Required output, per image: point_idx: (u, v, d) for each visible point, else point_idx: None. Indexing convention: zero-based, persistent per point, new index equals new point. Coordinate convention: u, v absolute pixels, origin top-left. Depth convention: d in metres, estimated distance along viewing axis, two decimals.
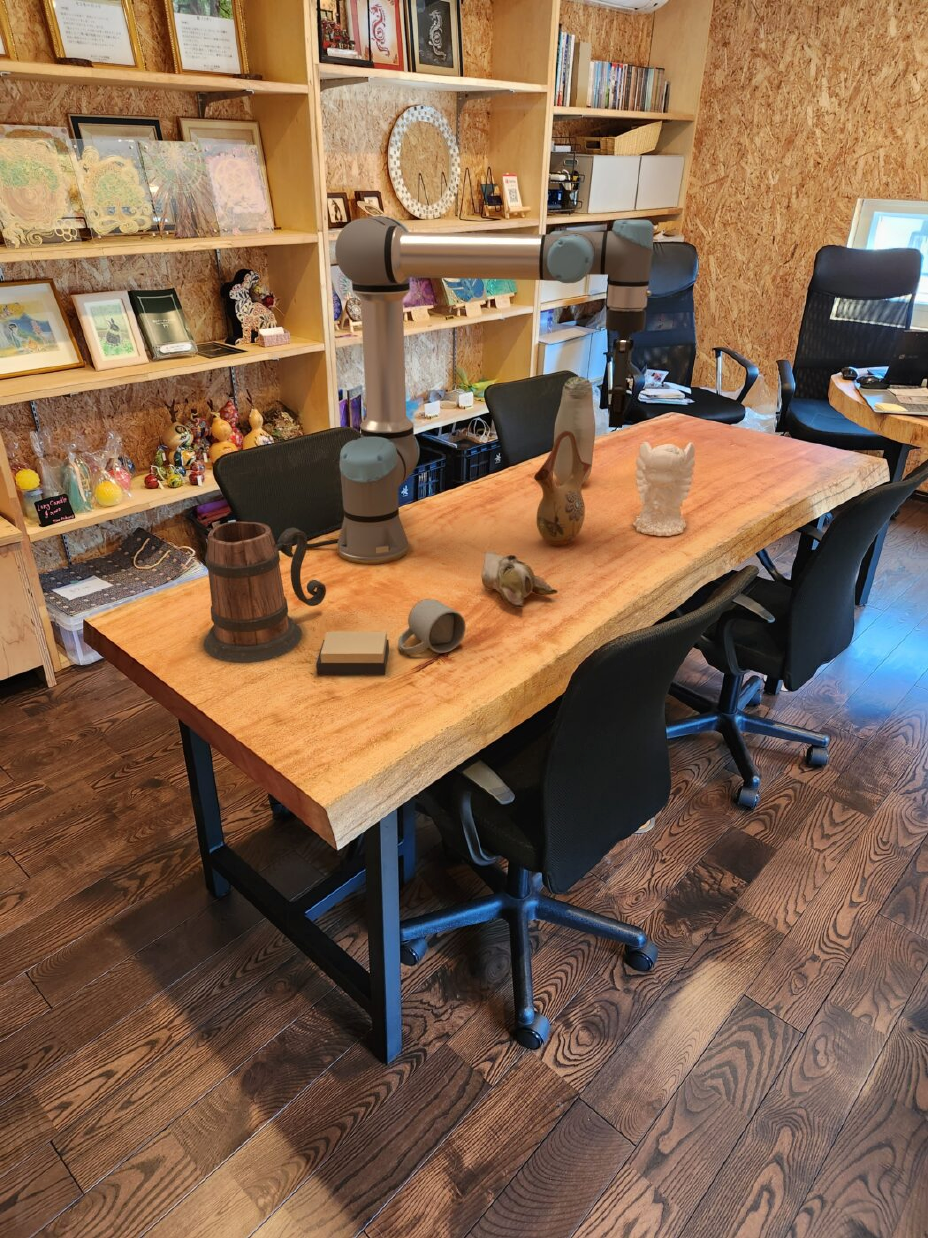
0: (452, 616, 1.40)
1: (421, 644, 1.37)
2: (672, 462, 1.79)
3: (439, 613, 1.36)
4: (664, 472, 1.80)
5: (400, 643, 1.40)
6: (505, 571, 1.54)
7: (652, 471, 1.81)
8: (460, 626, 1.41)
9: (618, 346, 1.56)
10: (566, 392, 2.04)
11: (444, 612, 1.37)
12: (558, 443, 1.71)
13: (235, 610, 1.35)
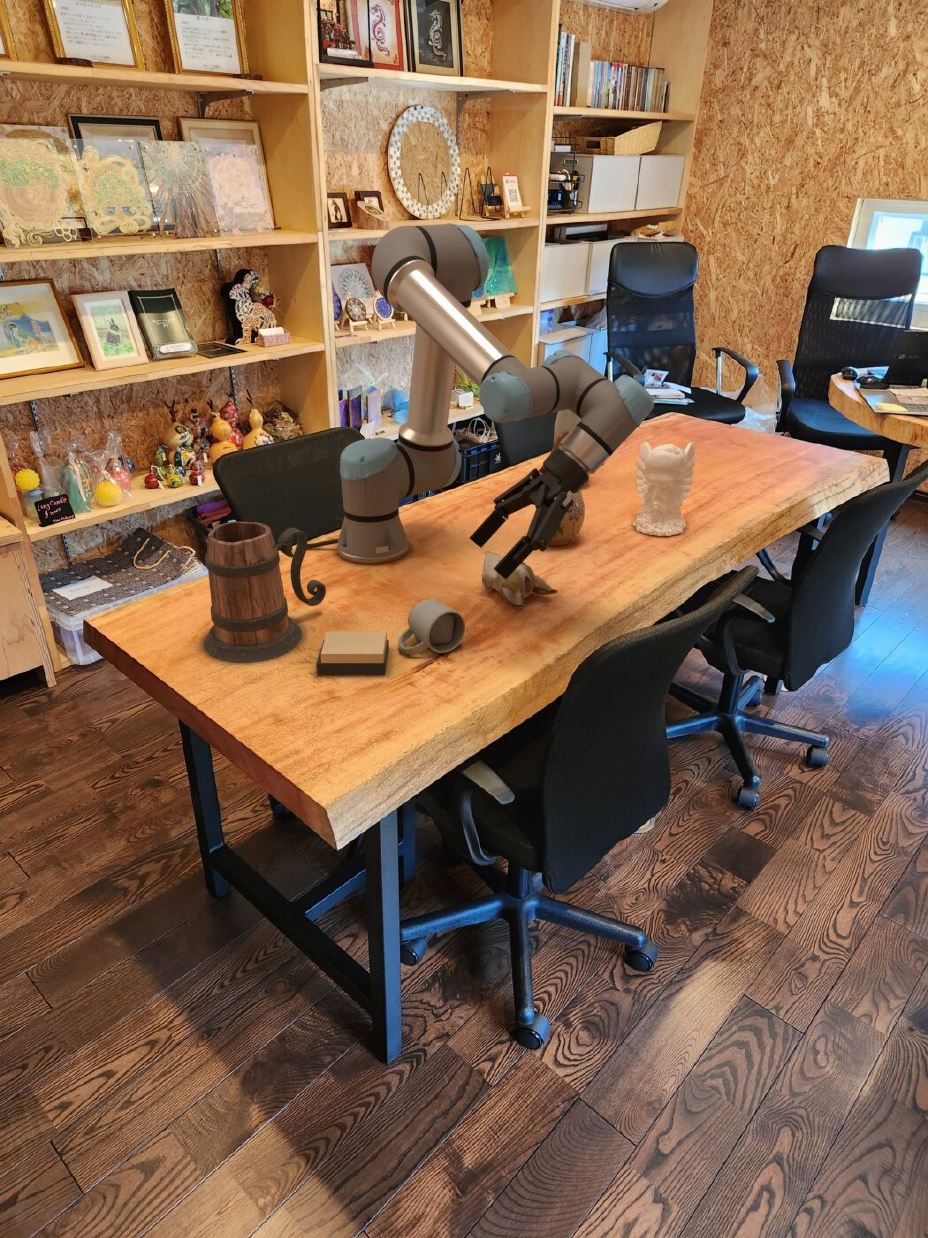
0: (452, 616, 1.40)
1: (421, 644, 1.37)
2: (672, 462, 1.79)
3: (439, 613, 1.36)
4: (664, 472, 1.80)
5: (400, 643, 1.40)
6: None
7: (652, 471, 1.81)
8: (460, 626, 1.41)
9: (563, 499, 1.29)
10: None
11: (444, 612, 1.37)
12: (558, 443, 1.71)
13: (235, 610, 1.35)
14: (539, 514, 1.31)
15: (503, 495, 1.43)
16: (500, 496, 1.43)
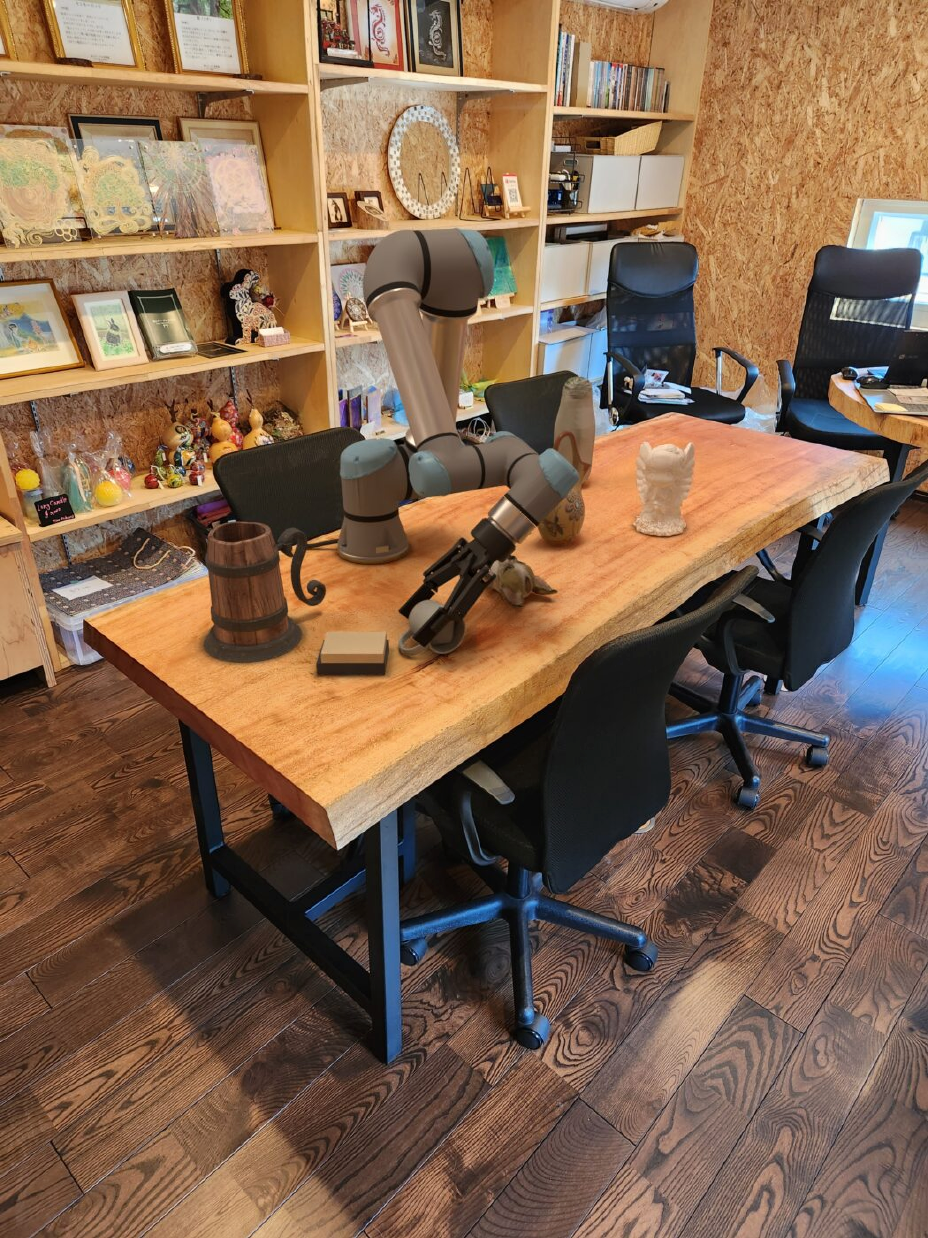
0: None
1: None
2: (672, 462, 1.79)
3: None
4: (664, 472, 1.80)
5: (400, 644, 1.40)
6: (505, 571, 1.54)
7: (652, 471, 1.81)
8: (460, 627, 1.41)
9: (484, 574, 1.31)
10: (566, 392, 2.04)
11: None
12: (558, 443, 1.71)
13: (235, 610, 1.35)
14: (460, 585, 1.34)
15: (432, 567, 1.43)
16: (429, 568, 1.44)
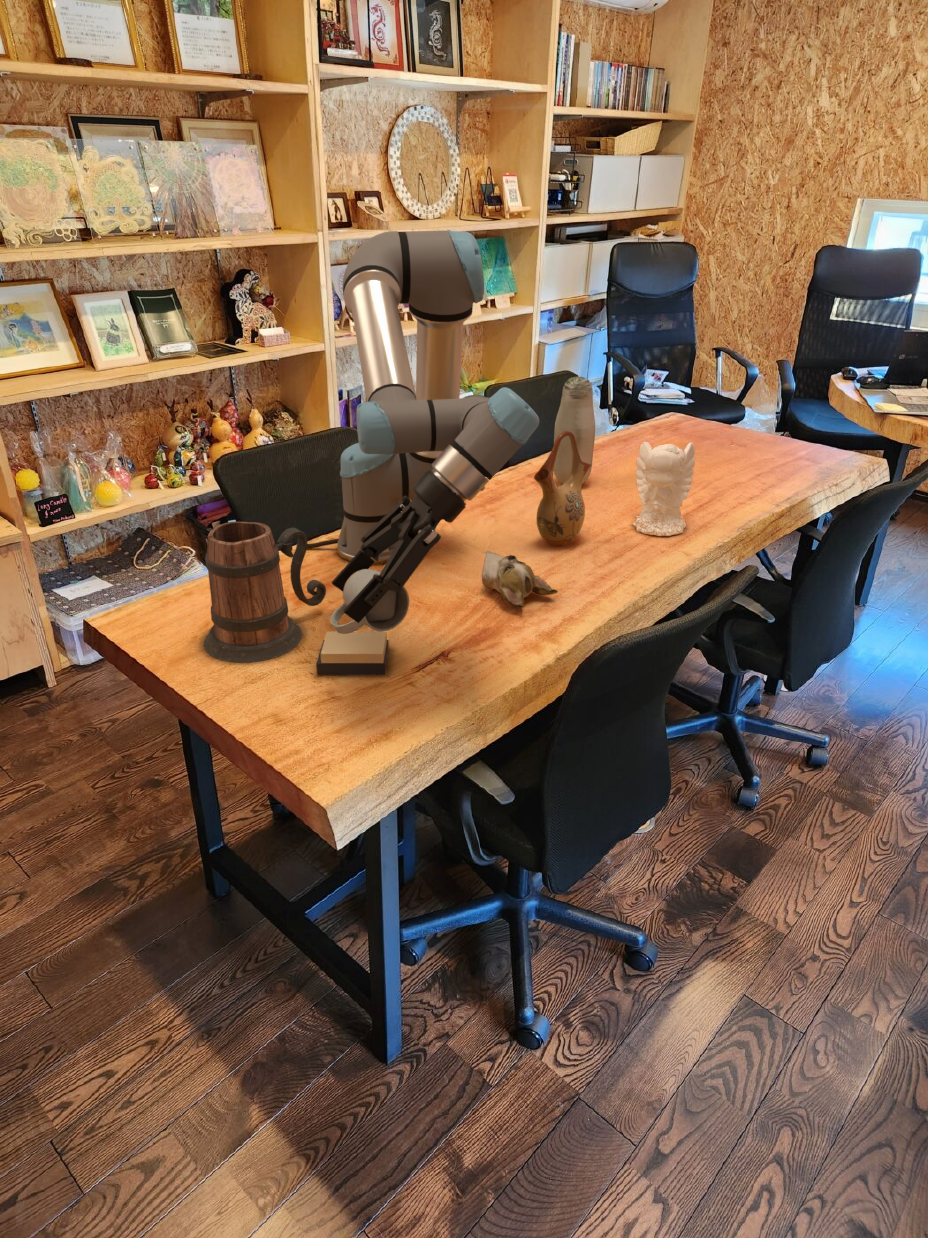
0: None
1: None
2: (672, 462, 1.79)
3: None
4: (664, 472, 1.80)
5: (333, 620, 1.19)
6: (505, 571, 1.54)
7: (652, 471, 1.81)
8: (403, 600, 1.20)
9: (426, 535, 1.11)
10: (566, 392, 2.04)
11: None
12: (558, 443, 1.71)
13: (235, 610, 1.35)
14: (399, 549, 1.14)
15: (371, 531, 1.23)
16: (368, 533, 1.24)
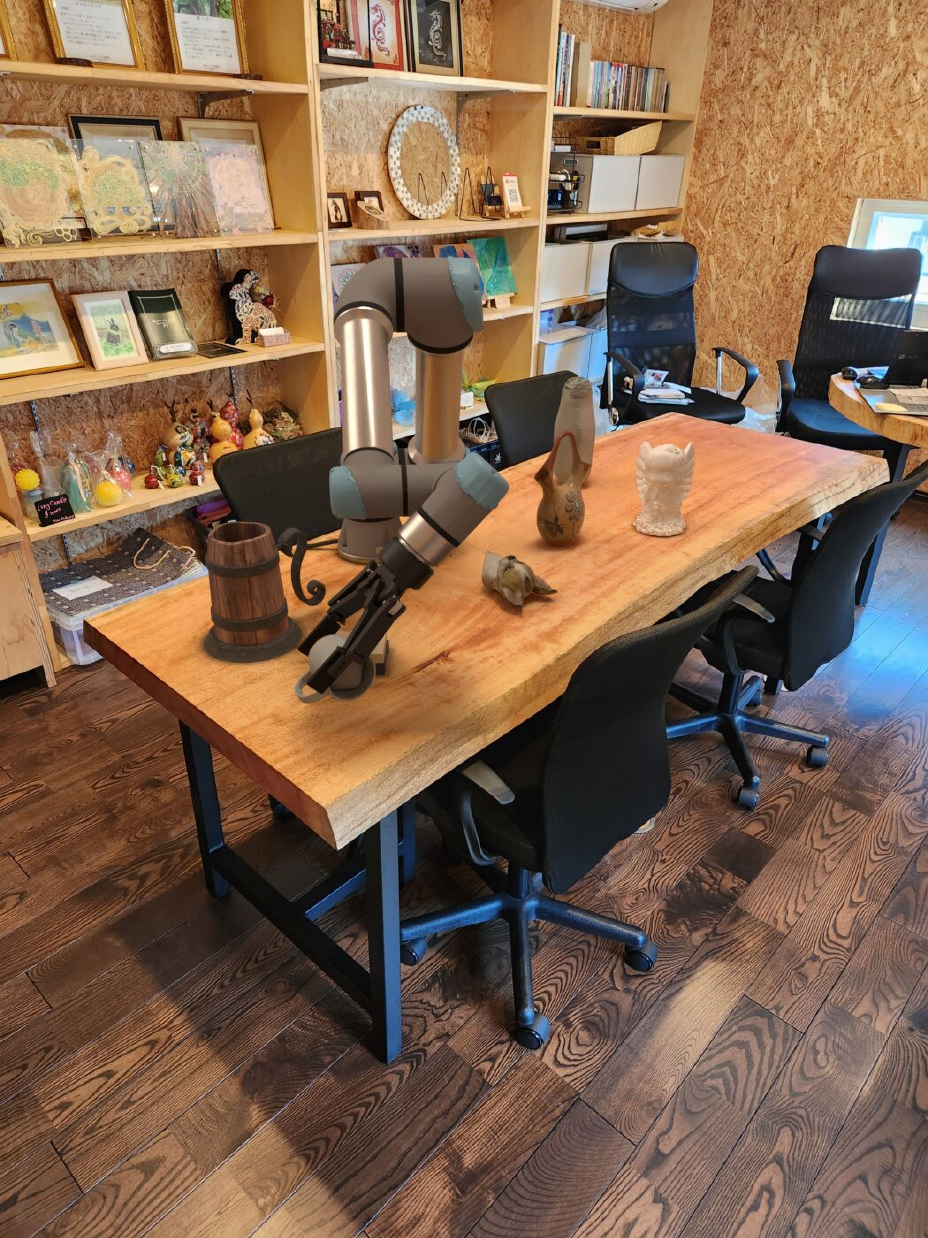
0: None
1: None
2: (672, 462, 1.79)
3: None
4: (664, 472, 1.80)
5: (297, 689, 1.16)
6: (505, 571, 1.54)
7: (652, 471, 1.81)
8: (370, 668, 1.17)
9: (390, 606, 1.07)
10: (566, 392, 2.04)
11: None
12: (558, 443, 1.71)
13: (235, 610, 1.35)
14: (364, 619, 1.10)
15: (338, 595, 1.19)
16: (335, 597, 1.20)
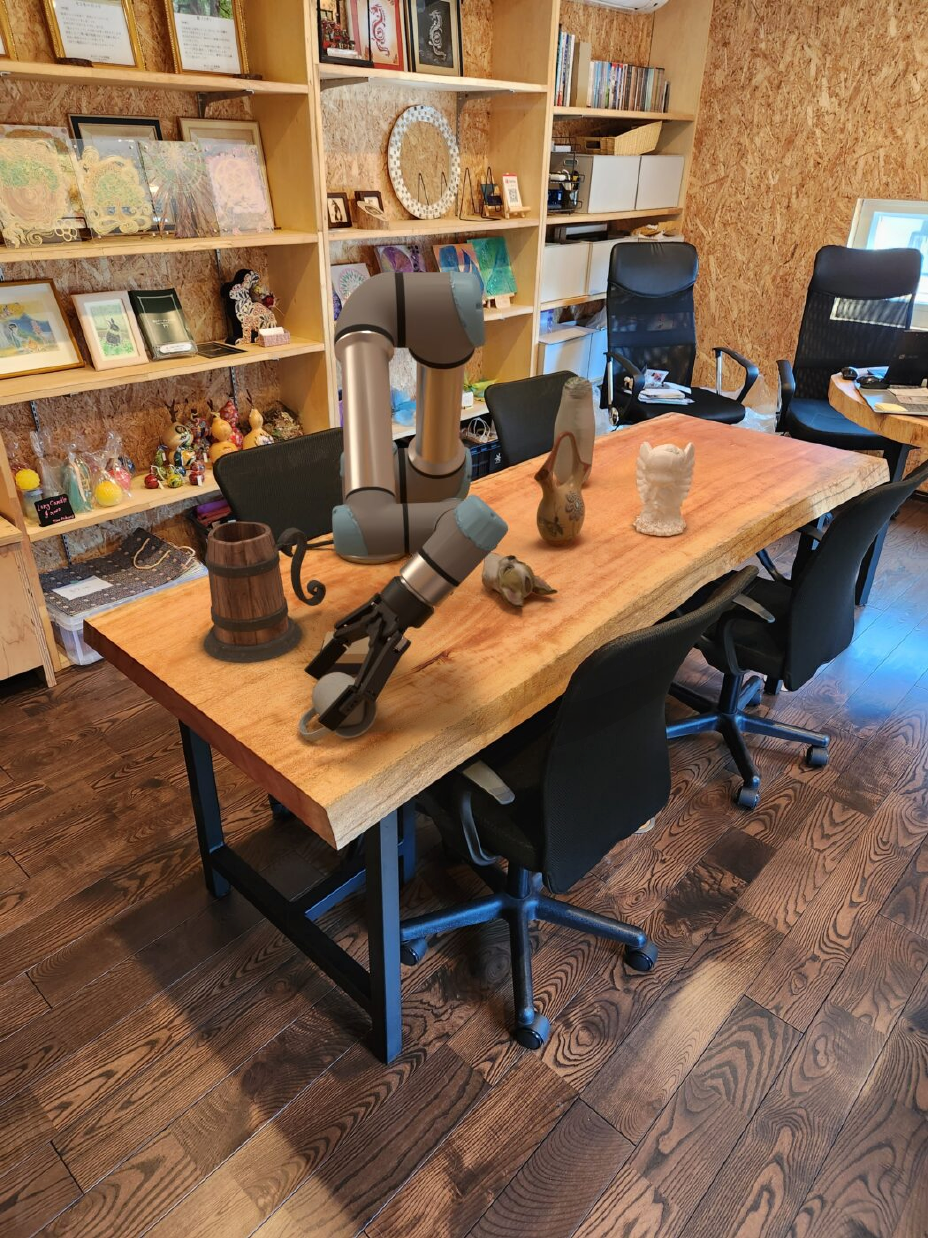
0: None
1: (323, 729, 1.16)
2: (672, 462, 1.79)
3: None
4: (664, 472, 1.80)
5: (300, 726, 1.19)
6: (505, 571, 1.54)
7: (652, 471, 1.81)
8: (372, 705, 1.20)
9: (396, 641, 1.10)
10: (566, 392, 2.04)
11: None
12: (558, 443, 1.71)
13: (235, 610, 1.35)
14: (371, 657, 1.12)
15: (344, 620, 1.23)
16: (341, 621, 1.24)
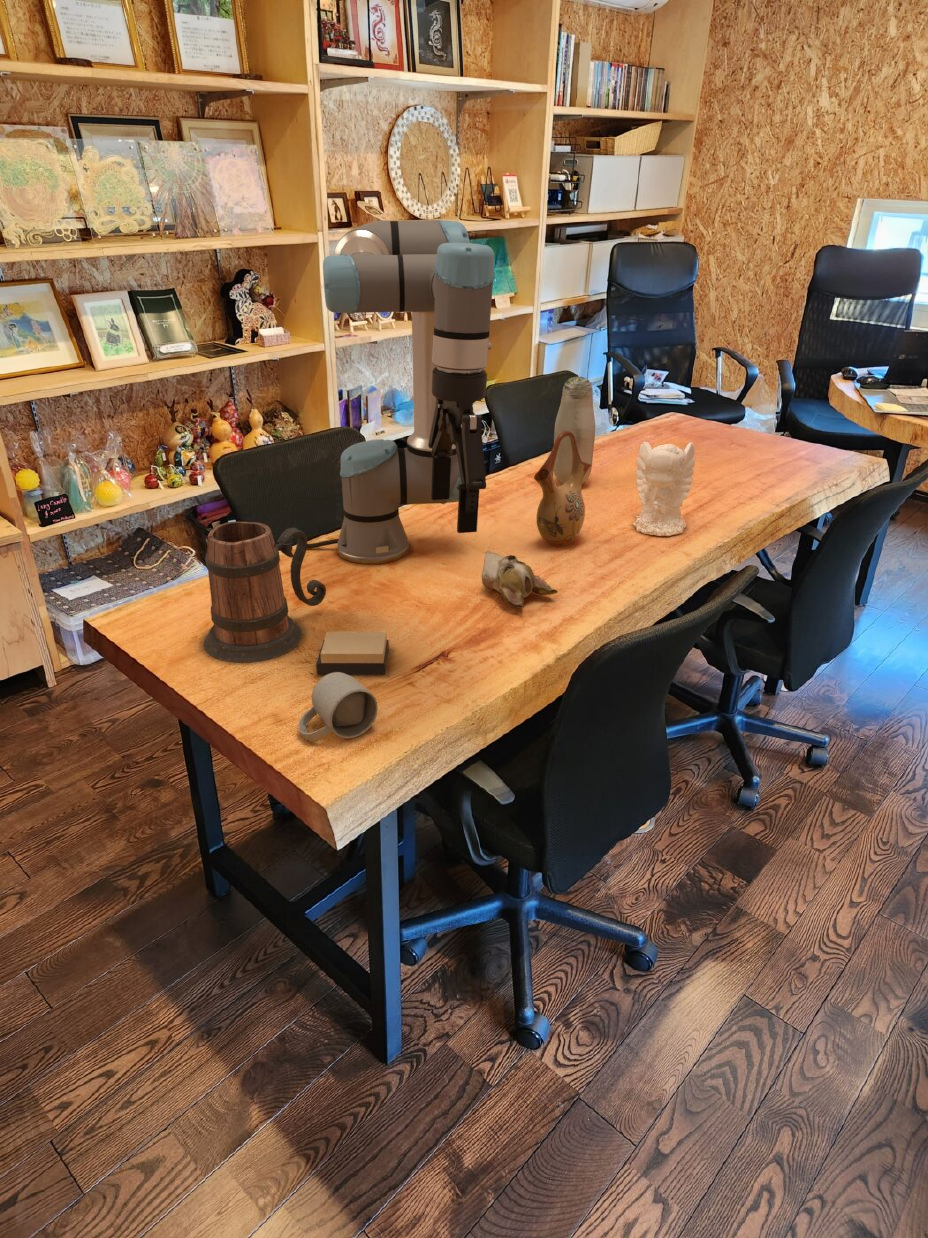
0: (362, 694, 1.19)
1: (323, 729, 1.16)
2: (672, 462, 1.79)
3: (344, 693, 1.15)
4: (664, 472, 1.80)
5: (300, 726, 1.19)
6: (505, 571, 1.54)
7: (652, 471, 1.81)
8: (372, 705, 1.20)
9: (467, 423, 1.09)
10: (566, 392, 2.04)
11: (350, 692, 1.15)
12: (558, 443, 1.71)
13: (235, 610, 1.35)
14: (460, 451, 1.12)
15: (431, 436, 1.25)
16: (430, 438, 1.25)
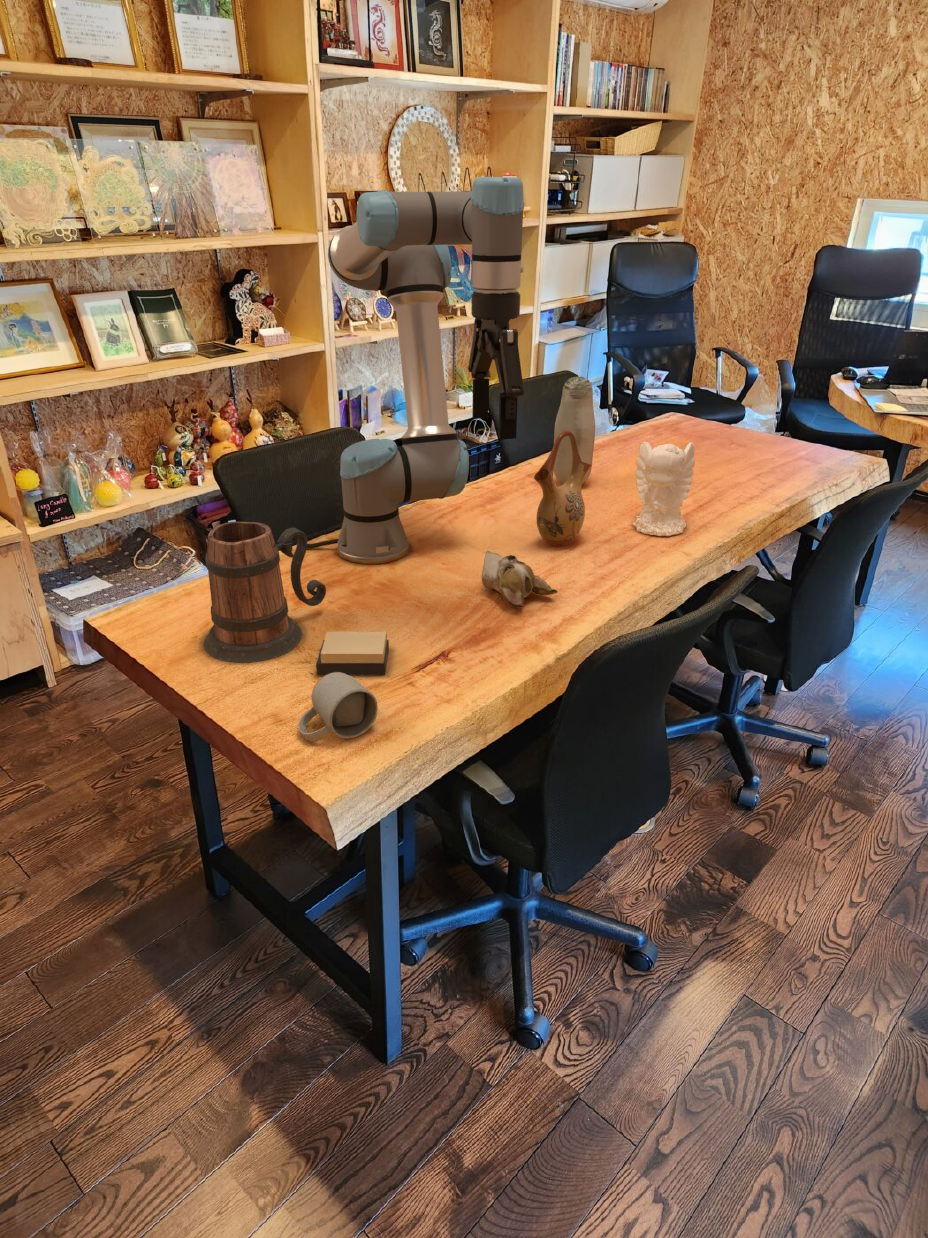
0: (362, 694, 1.19)
1: (323, 729, 1.16)
2: (672, 462, 1.79)
3: (344, 693, 1.15)
4: (664, 472, 1.80)
5: (300, 726, 1.19)
6: (505, 571, 1.54)
7: (652, 471, 1.81)
8: (372, 705, 1.20)
9: (505, 337, 1.23)
10: (566, 392, 2.04)
11: (350, 692, 1.15)
12: (558, 443, 1.71)
13: (235, 610, 1.35)
14: (499, 364, 1.27)
15: (471, 360, 1.39)
16: (470, 362, 1.40)
